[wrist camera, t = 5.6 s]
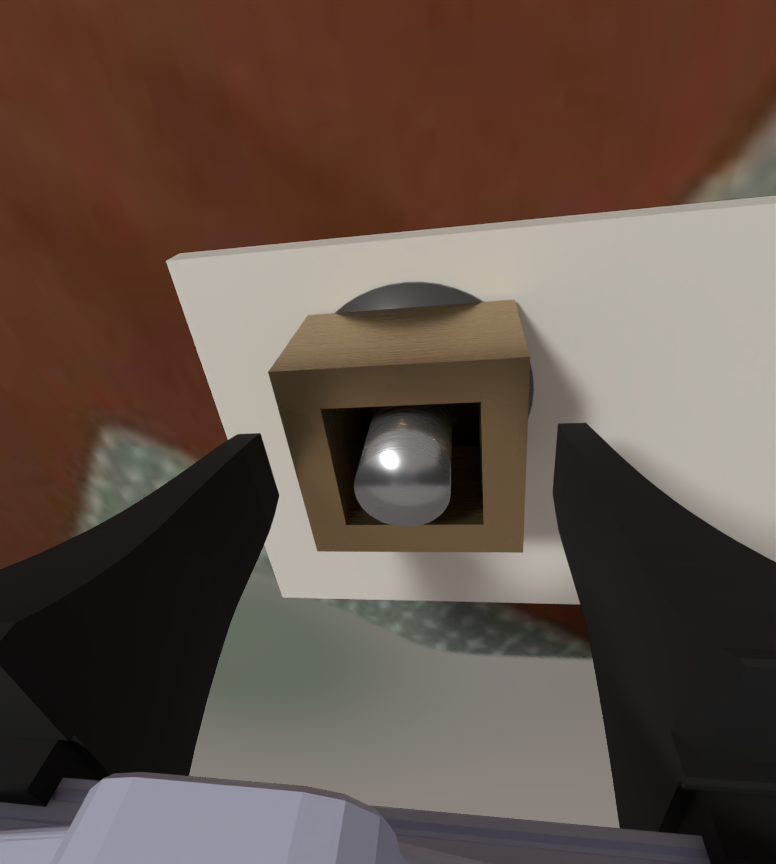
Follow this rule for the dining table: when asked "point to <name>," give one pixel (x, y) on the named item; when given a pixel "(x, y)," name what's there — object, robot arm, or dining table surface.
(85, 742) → the robot arm
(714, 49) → the dining table surface
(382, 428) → the steel post
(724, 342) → the pale board
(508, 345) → the bronze collar
